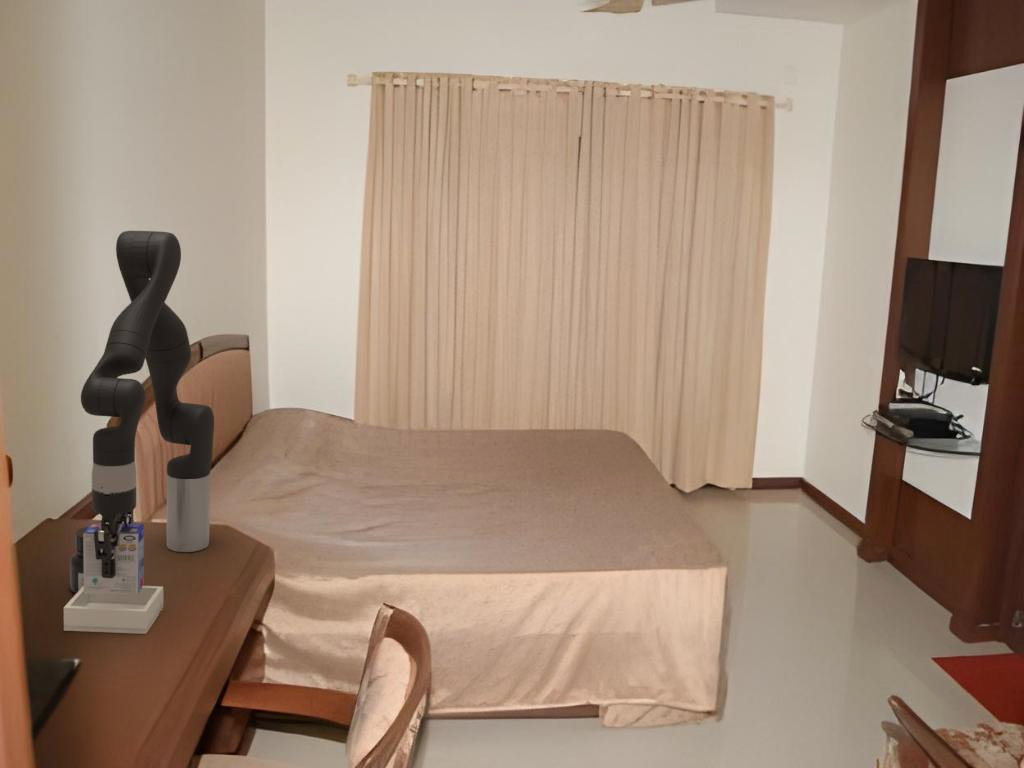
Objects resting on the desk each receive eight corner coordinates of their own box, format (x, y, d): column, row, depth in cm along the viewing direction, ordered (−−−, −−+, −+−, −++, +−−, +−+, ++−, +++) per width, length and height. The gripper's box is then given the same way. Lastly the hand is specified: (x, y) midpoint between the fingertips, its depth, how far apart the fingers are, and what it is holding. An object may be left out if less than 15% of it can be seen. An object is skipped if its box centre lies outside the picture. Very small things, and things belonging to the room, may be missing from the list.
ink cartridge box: (145, 582, 176) (145, 511, 173) (140, 595, 171) (140, 521, 168) (89, 583, 174) (89, 510, 171) (82, 595, 169) (81, 521, 166)
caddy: (86, 604, 178) (85, 583, 177) (163, 608, 179) (163, 586, 178) (63, 630, 168) (63, 607, 167) (145, 633, 169) (145, 611, 168)
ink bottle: (82, 602, 179) (81, 544, 177) (59, 587, 184) (58, 531, 182) (129, 587, 187) (128, 532, 184) (106, 574, 192) (105, 520, 189)
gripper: (107, 471, 175) (107, 554, 178) (77, 496, 161) (78, 585, 164) (147, 473, 175) (147, 556, 179) (121, 498, 161) (121, 587, 165)
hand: (114, 569), depth 172 cm, fingers closed on ink cartridge box, 5 cm apart
